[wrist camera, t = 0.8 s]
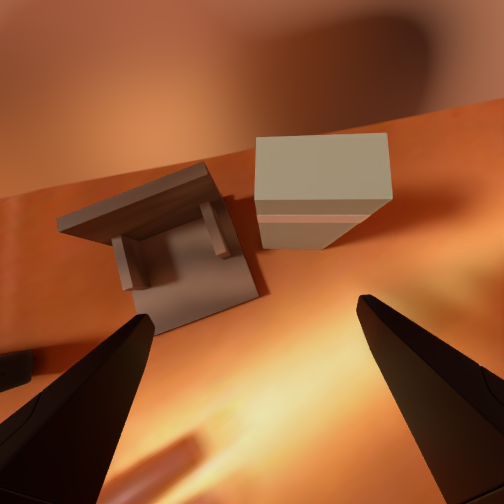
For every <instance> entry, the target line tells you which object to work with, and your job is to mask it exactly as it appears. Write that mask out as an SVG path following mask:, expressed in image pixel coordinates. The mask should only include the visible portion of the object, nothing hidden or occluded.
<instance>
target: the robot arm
mask: <svg viewBox="0 0 504 504" xmlns="http://www.w3.org/2000/svg"><path fill="white" fill-rule="evenodd" d="M356 312H357V316H358V319H359V321H360V324H361V327H362V329H363V332H364V335H365V337H366V340H367V343H368V345H369V348H370V350H371V353H372V355H373V357H374V359H375V361H376V363H377V365H378V367H379V369H380V371H381V373H382V375H383V377H384V379H385V381H386V383H387V385H388V387H389V389H390V391H391V393H392V395H393V397H394V399H395V401H396V403H397V405H398V407H399V409H400V411H401V413H402V415H403V417H404V419H405V421H406V423H407V425H408V427H409V429H410V431H411V433H412V435H413V437H414V439H415V441H416V443H417V445H418V447H419V449H420V451H421V453H422V455H423V457H424V459H425V461H426V463H427V465H428V467H429V469H430V471H431V473H432V475H433V477H434V479H435V481H436V483H437V485H438V487H439V489H440V491H441V493H442V495H443V497H444V499H445V501H446V503H447V504H504V380H503V379H501V378H500V377H498V376H497V375H495V374H494V373H492V372H490V371H489V370H487V369H486V368H484V367H483V366H479V364H478V363H476V362H475V361H473V360H472V359H470V358H469V357H467V356H466V355H464V354H462V353H461V352H459V351H458V350H456V349H455V348H453V347H452V346H450V345H448V344H447V343H445V342H444V341H442V340H441V339H439V338H438V337H436V336H435V335H433V334H431V333H430V332H428V331H427V330H425V329H424V328H422V327H421V326H419V325H418V324H416V323H414V322H413V321H411V320H410V319H408V318H407V317H405V316H404V315H402V314H400V313H399V312H397V311H396V310H394V309H393V308H391V307H390V306H388V305H387V304H385V303H383V302H382V301H380V300H379V299H377V298H376V297H374V296H372V295H370V294H368V295H360V296H359V299H358V303H357V308H356ZM154 333H155V325H154V323H153V321H152V320H151V318H150V316H149V315H148V314H138V315H136V316H135V317H133V318H132V319H131V320H130V321H128V322H127V323H126V324H125V325H123V326H122V327H121V328H120V329H118V330H117V331H116V332H115V333H113V334H112V335H111V336H110V337H108V338H107V339H106V340H105V341H103V342H102V343H101V344H100V345H99V346H97V347H96V348H95V349H94V350H92V351H91V352H90V353H89V354H87V355H86V356H85V357H84V358H82V359H81V360H80V361H79V362H77V363H76V364H75V365H74V366H72V367H71V368H70V369H69V370H67V371H66V372H65V373H64V374H62V375H61V376H60V377H59V378H57V379H56V380H55V381H54V382H52V383H51V384H50V385H49V386H48V387H46V388H45V389H44V390H43V391H42V392H40V393H39V394H38V395H36V396H35V397H34V398H33V399H31V400H30V401H29V402H28V403H26V404H25V405H24V406H23V407H21V408H20V409H19V410H17V411H16V412H15V413H14V414H12V415H11V416H10V417H9V418H7V419H6V420H5V421H3V422H2V423H1V424H0V504H96V502H97V500H98V497H99V494H100V491H101V488H102V486H103V483H104V480H105V477H106V475H107V472H108V469H109V466H110V464H111V461H112V458H113V455H114V453H115V450H116V447H117V444H118V442H119V439H120V436H121V433H122V431H123V428H124V425H125V422H126V420H127V417H128V414H129V411H130V409H131V406H132V403H133V400H134V398H135V395H136V392H137V389H138V386H139V384H140V381H141V378H142V375H143V373H144V370H145V367H146V364H147V360H148V356H149V352H150V348H151V345H152V341H153V337H154Z"/></svg>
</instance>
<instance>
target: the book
mask: <svg viewBox="0 0 504 504" xmlns="http://www.w3.org/2000/svg"><path fill="white" fill-rule="evenodd" d="M392 199H393V193H392V183H391V172H390V162H389V151H388V140H387V133H370V134H341V135H313V136H285V137H257V138H256V166H255V197H254V200H255V206H256V212H257V220H258V224H259V229H260V235H261V241H262V247H263V249H290V250H323V249H324V248H325V247H327V246H328V245H330V244H331V243H332V242H334V241H335V240H337V239H338V238H339V237H341V236H342V235H344V234H345V233H346V232H348V231H349V230H350V229H352V228H353V227H355V226H356V225H357V224H359V223H361V222H362V221H364V220H365V219H367V218H368V217H369V216H371V214H373V213H374V212H376V211H377V210H378V209H380V208H381V207H383V206H384V205H385V204H387V203H388V202H390V201H391V200H392Z"/></svg>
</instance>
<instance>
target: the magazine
mask: <svg viewBox="0 0 504 504" xmlns="http://www.w3.org/2000/svg"><path fill="white" fill-rule="evenodd" d="M32 353H33V351H32V350H25V351H20V352H16V353H8V354H0V392H3V391H6V390H9V389H12V388H15V387H18V386H21V385H23V384H26V383H29V382H30V381H31V375H32V373H33V372H34V357H32Z"/></svg>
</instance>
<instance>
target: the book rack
mask: <svg viewBox="0 0 504 504" xmlns="http://www.w3.org/2000/svg"><path fill="white" fill-rule="evenodd" d="M56 220H57V226H58V232H61V233H65V234H68V235H72V236H76V237H80V238H84V239H87V240H91V241H95V242H99V243H103V244H106V245H110V246H113V249H114V253H115V257H116V262H117V266H118V271H119V275H120V279H121V284H122V288H123V291H132V296H133V300H134V304H135V308H136V312H137V315H138V314H148V315H149V316H150V318H151V320H152V321H153V323H154V325H155V333H154V336H155V335H158V334H160V333H163V332H166V331H168V330H171V329H174V328H176V327H179V326H182V325H184V324H187V323H190V322H192V321H195V320H198V319H200V318H203V317H206V316H208V315H211V314H214V313H217V312H219V311H222V310H225V309H227V308H230V307H233V306H235V305H238V304H241V303H243V302H246V301H249V300H251V299H254V298H257V297H259V294H258V291H257V289H256V286H255V283H254V280H253V278H252V275H251V272H250V269H249V267H248V264H247V261H246V258H245V256H244V253H243V250H242V247H241V245H240V242H239V239H238V236H237V234H236V231H235V228H234V225H233V223H232V220H231V217H230V215H229V212H228V209H227V206H226V204H225V201H224V198H223V196H222V194H221V193H220V192H219V190H218V188H217V186H216V184H215V182H214V180H213V178H212V176H211V175H210V173H209V171H208V169H207V167H206V165H205V163H204V161H203V162H201V163H198V164H196V165H193V166H190V167H188V168H185V169H183V170H180V171H178V172H175V173H172V174H170V175H167V176H165V177H162V178H160V179H157V180H155V181H152V182H149V183H147V184H144V185H142V186H139V187H137V188H134V189H131V190H129V191H126V192H124V193H121V194H119V195H116V196H113V197H111V198H108V199H106V200H103V201H101V202H98V203H95V204H93V205H90V206H88V207H85V208H83V209H80V210H78V211H75V212H72V213H70V214H67V215H65V216H62V217H60V218H57V219H56Z"/></svg>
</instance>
